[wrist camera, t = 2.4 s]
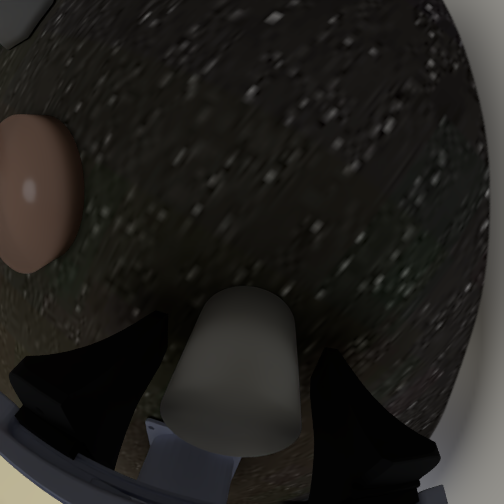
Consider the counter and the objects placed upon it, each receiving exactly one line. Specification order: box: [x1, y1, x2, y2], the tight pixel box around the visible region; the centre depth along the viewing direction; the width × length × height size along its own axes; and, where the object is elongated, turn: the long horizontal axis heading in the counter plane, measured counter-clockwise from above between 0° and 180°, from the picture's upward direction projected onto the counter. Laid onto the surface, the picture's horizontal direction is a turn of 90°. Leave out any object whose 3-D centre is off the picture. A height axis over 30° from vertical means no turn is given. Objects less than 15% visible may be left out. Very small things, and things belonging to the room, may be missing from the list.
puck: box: [0, 114, 84, 274], centre depth 11 cm, size 9×9×2 cm
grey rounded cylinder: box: [160, 286, 302, 457], centre depth 10 cm, size 5×5×6 cm
